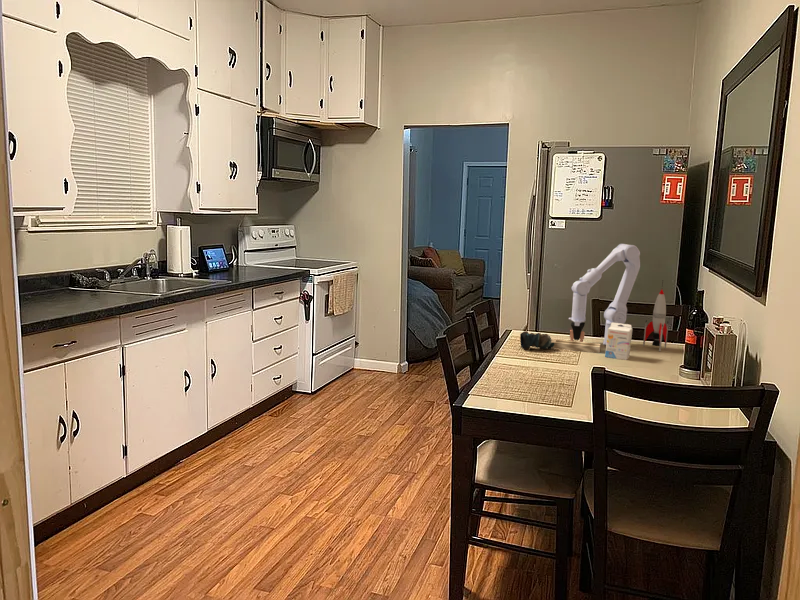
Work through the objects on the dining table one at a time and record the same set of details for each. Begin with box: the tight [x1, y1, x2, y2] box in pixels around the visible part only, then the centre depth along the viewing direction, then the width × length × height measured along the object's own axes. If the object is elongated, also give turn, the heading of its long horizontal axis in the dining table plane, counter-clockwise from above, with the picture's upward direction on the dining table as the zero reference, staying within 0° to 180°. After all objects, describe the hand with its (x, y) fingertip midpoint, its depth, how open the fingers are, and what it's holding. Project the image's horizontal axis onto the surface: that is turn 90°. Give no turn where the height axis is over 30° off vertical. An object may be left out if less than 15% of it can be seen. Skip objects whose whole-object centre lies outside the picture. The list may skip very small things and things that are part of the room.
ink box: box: [604, 322, 633, 361], centre depth 246 cm, size 9×8×13 cm
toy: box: [642, 281, 669, 352], centre depth 260 cm, size 10×9×30 cm
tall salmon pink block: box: [569, 329, 585, 342], centre depth 267 cm, size 6×2×6 cm, turn 71°
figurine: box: [519, 330, 554, 352], centre depth 254 cm, size 9×8×15 cm
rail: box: [551, 338, 601, 354], centre depth 258 cm, size 20×7×2 cm, turn 71°
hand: (576, 339), depth 267 cm, fingers closed on tall salmon pink block, 2 cm apart
